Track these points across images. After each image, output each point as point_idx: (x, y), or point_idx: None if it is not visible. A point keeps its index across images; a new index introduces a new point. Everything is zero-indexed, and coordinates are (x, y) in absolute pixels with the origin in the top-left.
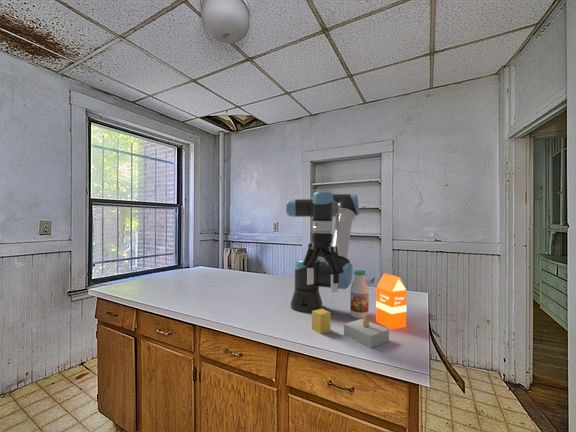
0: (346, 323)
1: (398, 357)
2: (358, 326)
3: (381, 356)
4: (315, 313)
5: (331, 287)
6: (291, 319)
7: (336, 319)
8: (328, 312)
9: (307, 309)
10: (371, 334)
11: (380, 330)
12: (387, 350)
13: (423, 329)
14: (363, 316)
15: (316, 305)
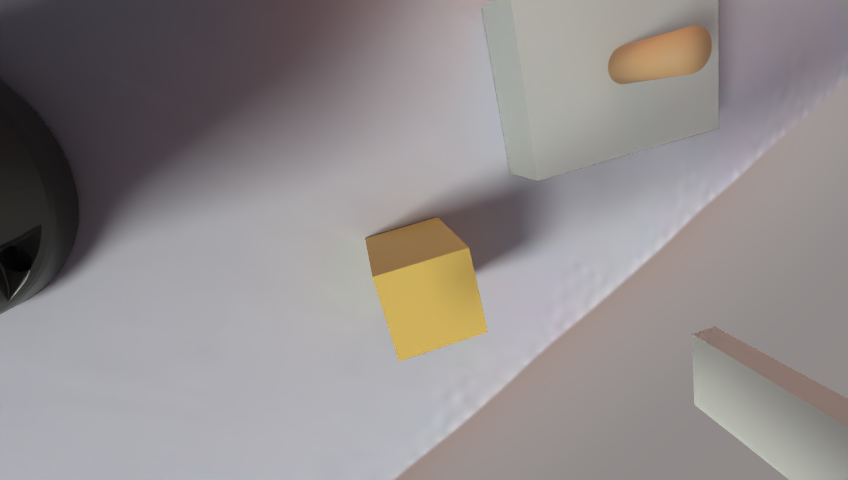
0: (535, 159)
1: (773, 62)
2: (602, 112)
3: (733, 129)
4: (434, 345)
5: (759, 442)
6: (210, 370)
7: (277, 82)
8: (466, 263)
9: (62, 237)
10: (709, 110)
11: (701, 13)
12: None
13: None
14: (670, 76)
15: (22, 155)
